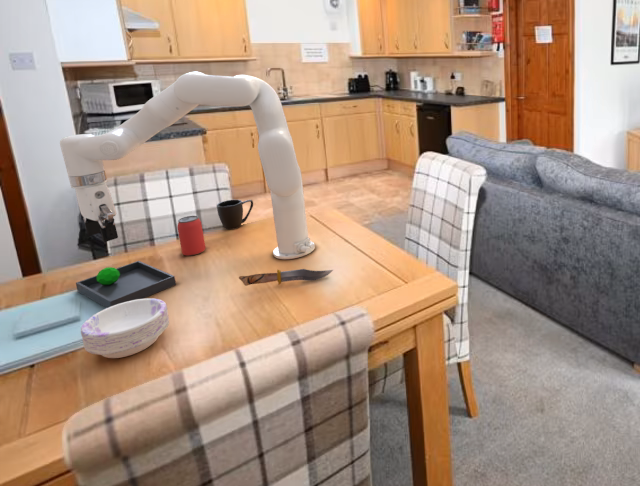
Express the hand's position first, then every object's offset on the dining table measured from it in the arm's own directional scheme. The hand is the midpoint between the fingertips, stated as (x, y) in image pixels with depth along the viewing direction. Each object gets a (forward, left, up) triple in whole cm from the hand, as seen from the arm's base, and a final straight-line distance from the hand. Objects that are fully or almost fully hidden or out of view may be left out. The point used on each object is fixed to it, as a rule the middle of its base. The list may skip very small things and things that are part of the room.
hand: (102, 236), depth 131 cm
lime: (0, +1, -15) cm, 14 cm away
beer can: (+2, -23, -15) cm, 28 cm away
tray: (-6, -1, -15) cm, 16 cm away
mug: (+12, -44, -15) cm, 48 cm away
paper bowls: (-38, +11, -15) cm, 42 cm away
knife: (-46, -24, -15) cm, 54 cm away
